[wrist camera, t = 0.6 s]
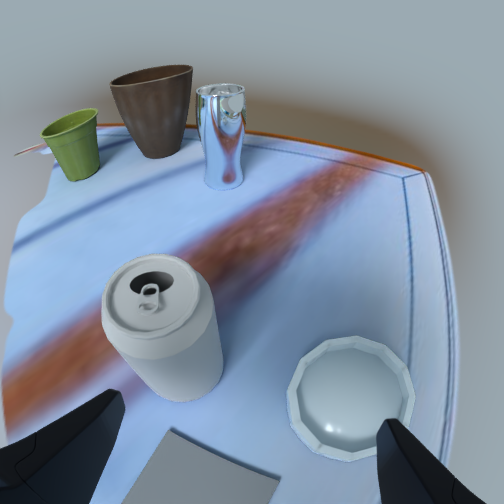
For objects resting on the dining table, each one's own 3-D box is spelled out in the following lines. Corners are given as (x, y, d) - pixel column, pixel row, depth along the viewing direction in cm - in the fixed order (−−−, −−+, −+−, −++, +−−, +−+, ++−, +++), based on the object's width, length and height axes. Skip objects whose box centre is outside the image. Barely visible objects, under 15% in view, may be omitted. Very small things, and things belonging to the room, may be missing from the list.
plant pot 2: (109, 165, 51) (92, 88, 39) (151, 132, 60) (143, 66, 49) (173, 173, 47) (161, 82, 36) (211, 137, 57) (207, 63, 46)
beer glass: (255, 179, 46) (257, 88, 35) (223, 198, 43) (218, 98, 32) (224, 164, 49) (221, 80, 39) (192, 181, 46) (183, 91, 35)
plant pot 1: (79, 157, 54) (67, 111, 46) (121, 157, 53) (110, 105, 45) (46, 188, 46) (27, 139, 38) (87, 191, 45) (69, 133, 37)
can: (219, 327, 28) (206, 237, 20) (229, 400, 23) (217, 340, 14) (145, 334, 27) (101, 250, 19) (145, 406, 22) (83, 349, 14)
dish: (386, 472, 18) (395, 471, 16) (265, 436, 21) (266, 433, 20) (414, 364, 25) (422, 356, 24) (312, 330, 28) (315, 321, 27)
